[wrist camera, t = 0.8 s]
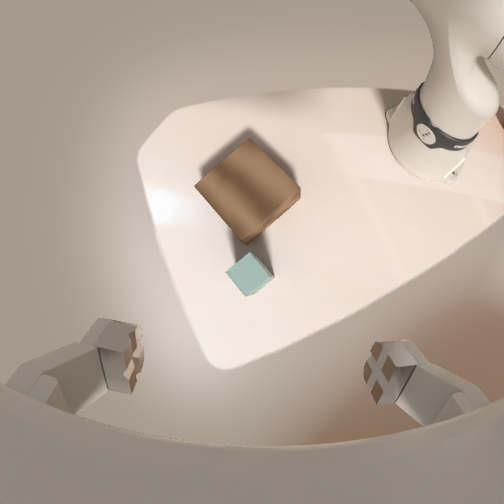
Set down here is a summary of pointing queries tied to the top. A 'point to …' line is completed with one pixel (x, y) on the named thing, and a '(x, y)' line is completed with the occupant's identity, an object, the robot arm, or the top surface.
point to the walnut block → (248, 191)
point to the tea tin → (250, 274)
